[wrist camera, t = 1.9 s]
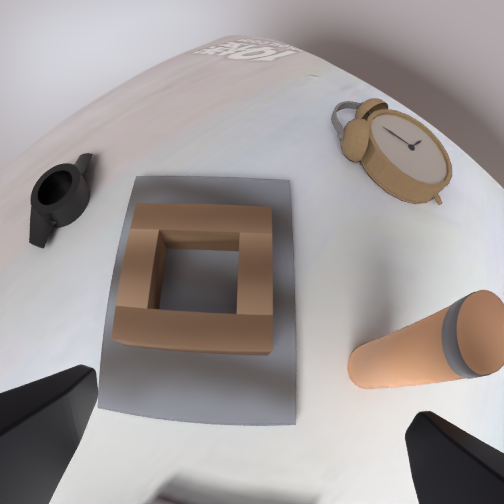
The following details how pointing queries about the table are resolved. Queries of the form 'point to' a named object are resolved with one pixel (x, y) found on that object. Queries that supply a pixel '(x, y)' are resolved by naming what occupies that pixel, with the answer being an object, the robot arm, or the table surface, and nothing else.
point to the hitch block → (203, 304)
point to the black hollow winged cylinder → (58, 199)
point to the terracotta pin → (436, 347)
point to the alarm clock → (395, 151)
